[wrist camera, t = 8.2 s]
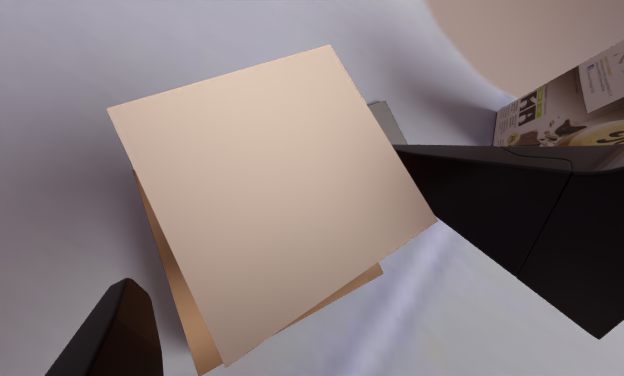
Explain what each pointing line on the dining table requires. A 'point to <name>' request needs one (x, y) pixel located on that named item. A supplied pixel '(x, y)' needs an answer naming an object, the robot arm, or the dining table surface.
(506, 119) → the coffee box
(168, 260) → the bin
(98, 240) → the dining table surface
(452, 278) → the dining table surface
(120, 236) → the dining table surface
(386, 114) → the coaster
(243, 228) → the tall peach block
